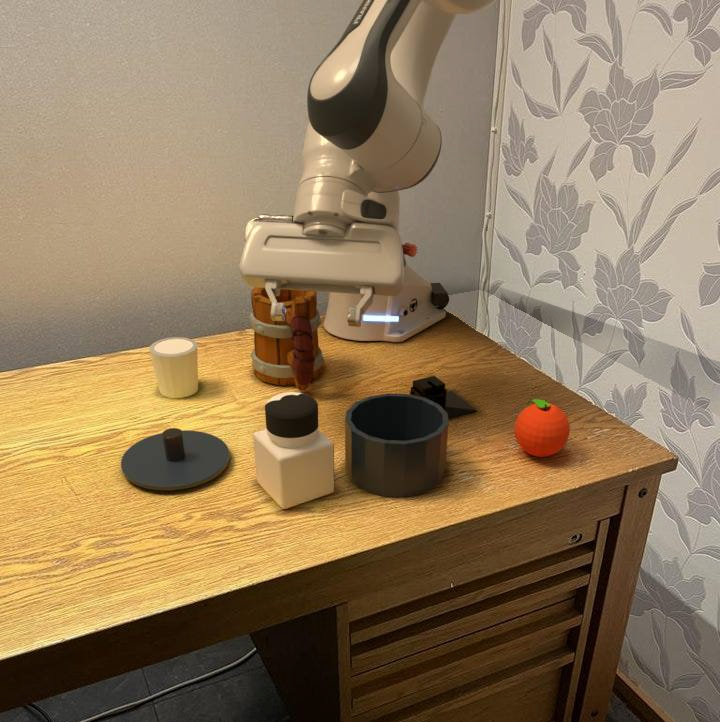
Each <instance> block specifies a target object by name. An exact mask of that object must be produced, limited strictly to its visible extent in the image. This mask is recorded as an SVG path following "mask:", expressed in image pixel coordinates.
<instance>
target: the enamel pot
mask: <svg viewBox="0 0 720 722" xmlns="http://www.w3.org/2000/svg"><path fill="white" fill-rule="evenodd" d="M449 424H450V423H449V420H448V414H447V412H446V411H445V410H444V409H443V408H442V407H441V406H440V405H439V404H437V403H435V402H433V401H431V400H429V399H427V398H424V397H419V396H415V395H410V393H387V392H386V393H382V394H374V395H370V396H367V397H364V398H362V399H359V400H358V401H357V400H356V401H355V402H354V403H353V404H352V405H351V406H350V407H349V408H348V409H347V410H346V412H345V418H344V446H345V447H344V462H345V463H344V464H345V465H344V466H345V467H344V468H345V469H344V470H345V472H346V475H347V477H348V479H349V481H350V482H351V483H352V484H353V485H355V486H356V487H357V488H359V489H361V490H363V491H365V492H367V493H370V494H373V495H377V496H382V497H391V498H406V497H414V496H417V495H421V494H424V493H427V492H429V491H431V490H433V489H434V488H436V487H437V486H438V485H439V484H440V483H441V482H442V480H443V478H444V476H445V473H446V464H447V452H448V451H447V450H448V439H449Z"/></svg>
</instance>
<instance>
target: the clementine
mask: <svg viewBox="0 0 720 722" xmlns="http://www.w3.org/2000/svg"><path fill="white" fill-rule="evenodd" d="M531 402H533V404H530V403H531ZM570 433H571V426H570V422H569V419H568V415H566V413H565V412H564V411H563V409H561V408H560V407H558V406H557V405H555V404H553V403H550V402H547V401H546V400H544V399H540V398H536V399H535V398H534V399H529V400H528V401H527V403H526V406H525V408H524V409H523V410H522V411H521V412H520V413H519V415H518V416H517V418H516V421H515V424H514V437H515V440H516V443H517V444H518V445H519V446H520V448H521V449H522V450H523V451H524V452H525V453H527V454H529V455H530V456H534V457H539V458H544V457H549V456H553V455H555V454H558V452H559V451H561V450H562V449H563V448H564V447H565V445H566V444H567V443H568V440H569V437H570Z"/></svg>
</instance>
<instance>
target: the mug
mask: <svg viewBox="0 0 720 722" xmlns="http://www.w3.org/2000/svg"><path fill="white" fill-rule="evenodd" d="M275 298H276V300H277V302H278V303H284V305H285V307H286V315H285V321H272V319H271V307H272V303H271V301H270V298H269V296H268V294H267V292H266V289H265V288H258V287H253V288H252V289H251V291H250V299H251V309H252V311H251V313H250V314H249V321H250V327H251V329H252V330H253V344H254V349H252V351H251V353H250V358H251V365H252V367H253V369H254V371H253V372H254V375H255V376H256V378H258V379H259V380H260V381H261V382H264V383H267V384H270V385H275V386H283V387H286V386H295V387H296V388H297V390H298V391H306V390H307V389H308V388H309V385H310V384H312V383H313V380H315V379H316V378H317V377H318V375H321V372H322V365H323V363H324V362H325V358H324V356H323V350H322V349H321V347H320V346H319V332H318V330H319V329H318V328H319V327H320V326H321V325H322V319H321V314H320V311H319V310H318V309H317V307H318V297H317V291H305V290H289V289H280V295H279V296H275Z"/></svg>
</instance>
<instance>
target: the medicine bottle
mask: <svg viewBox="0 0 720 722" xmlns="http://www.w3.org/2000/svg"><path fill="white" fill-rule="evenodd" d="M264 415H265V416H264V417H265V427H266V428H264V429H262V430H258V431H254V432H253V434H252V440H253V451H254V463H255V475H256V476H255V477H256V482H257V483H258V485H259V486H261V488H262V489H263V490H264V491H265V492H266V493H267V494H268V495H269V496H270V498H271V499H272V500H273V501H274V502H275V503H276V504H277V505H278V506H279V507H280V508H281V509H282V510H286V509H289V508H293V507H296V506H298V505H301V504H303V503H307V502H310V501H312V500H313V501H314V500H316V499H319V498H321V497H324V496H327V495H330V494H333V493H334V492H335V444H334V442H333V441H332V440H331V439H330V438H328V437H327V436H326V435H325V434H324V432H322V431H321V430H320V428H319V427H320V426H319V403H318V401H317V400H316V399H315V398H314V397H313V396H311V395H310V394H307V393H303V392H299V391H288V392H282V393H278V394H275V395H273V396H272V397H270V398H269V399H268V400H267V401H266V402H265V405H264Z"/></svg>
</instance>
